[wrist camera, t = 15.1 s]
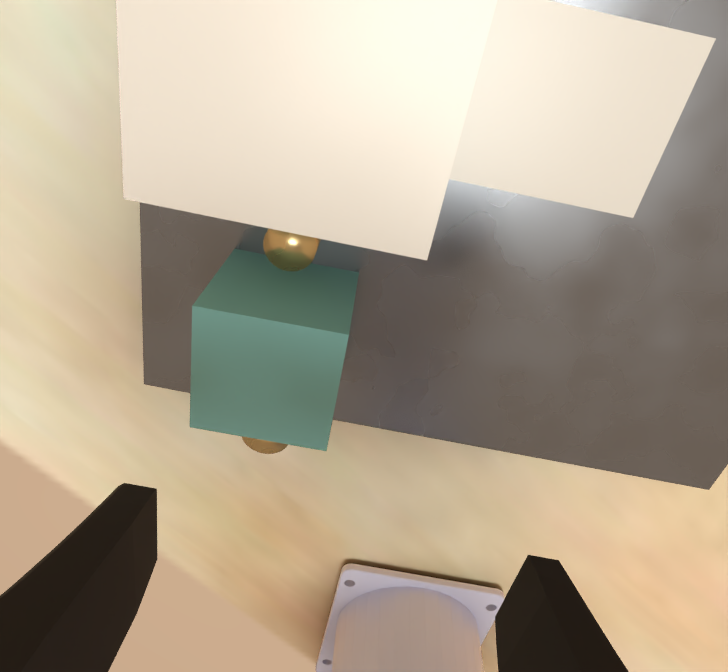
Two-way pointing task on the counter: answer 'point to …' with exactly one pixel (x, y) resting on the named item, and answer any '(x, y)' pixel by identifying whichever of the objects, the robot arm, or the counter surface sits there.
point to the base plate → (520, 305)
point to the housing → (391, 109)
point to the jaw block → (270, 350)
